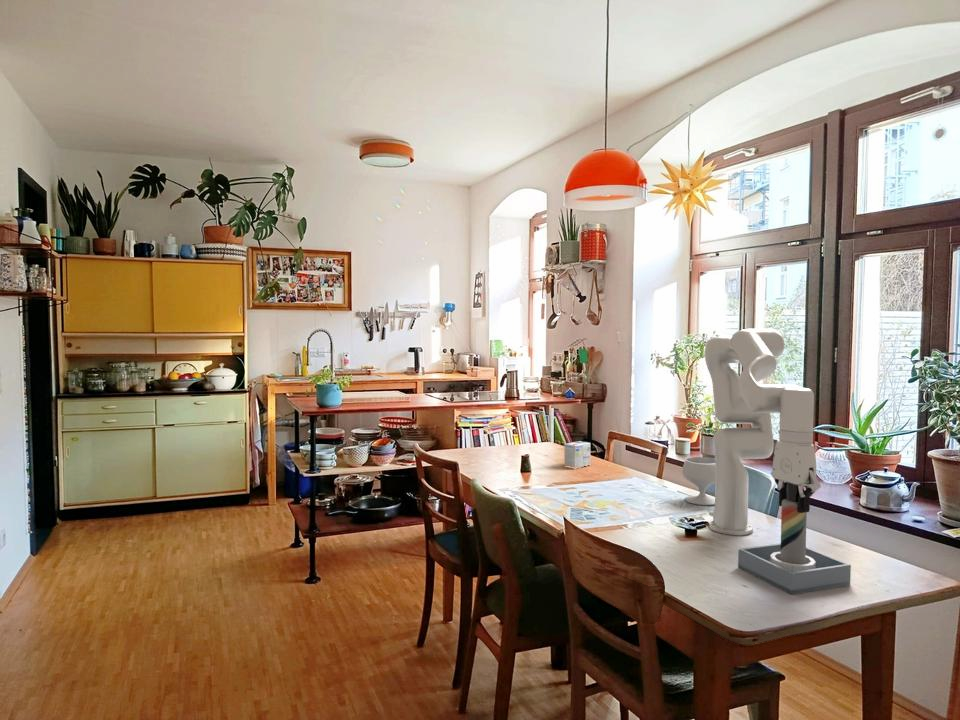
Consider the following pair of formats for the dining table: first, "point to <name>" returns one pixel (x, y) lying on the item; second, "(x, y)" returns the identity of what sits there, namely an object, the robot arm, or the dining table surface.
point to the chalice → (700, 478)
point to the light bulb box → (577, 454)
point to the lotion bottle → (792, 528)
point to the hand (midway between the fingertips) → (793, 508)
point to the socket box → (794, 569)
